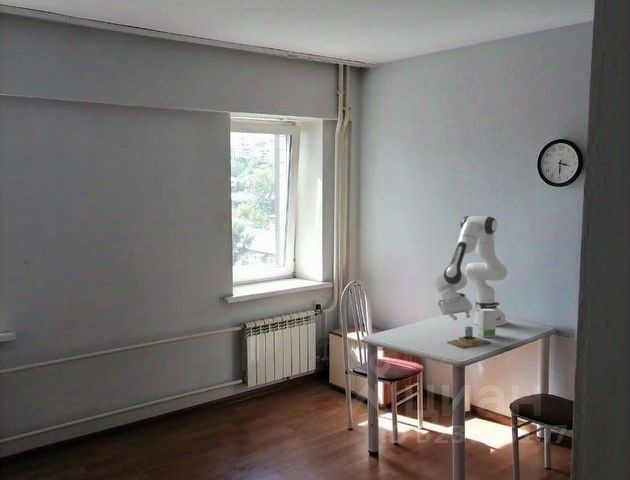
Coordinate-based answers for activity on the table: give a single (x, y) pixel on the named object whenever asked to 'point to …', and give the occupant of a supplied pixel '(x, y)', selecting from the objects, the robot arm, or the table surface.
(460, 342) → the collar board
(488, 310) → the skincare box
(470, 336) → the cylinder
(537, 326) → the table surface
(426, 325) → the table surface
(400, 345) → the table surface
